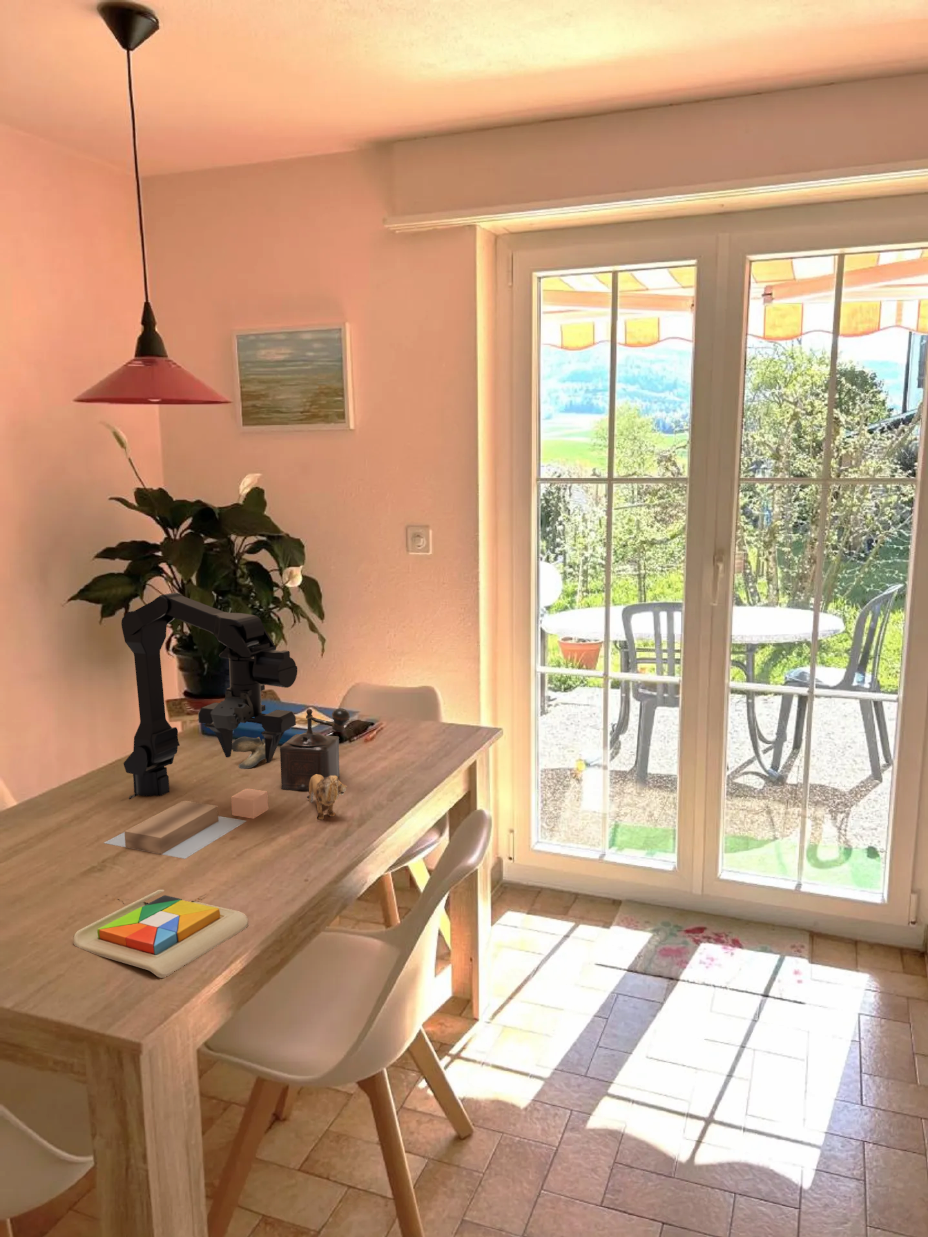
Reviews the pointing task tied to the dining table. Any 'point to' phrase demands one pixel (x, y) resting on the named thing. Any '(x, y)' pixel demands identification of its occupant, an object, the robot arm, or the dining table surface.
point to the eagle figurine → (250, 745)
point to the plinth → (171, 827)
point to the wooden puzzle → (160, 933)
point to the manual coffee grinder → (311, 753)
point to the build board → (192, 838)
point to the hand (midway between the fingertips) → (248, 759)
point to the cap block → (249, 803)
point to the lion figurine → (325, 792)
